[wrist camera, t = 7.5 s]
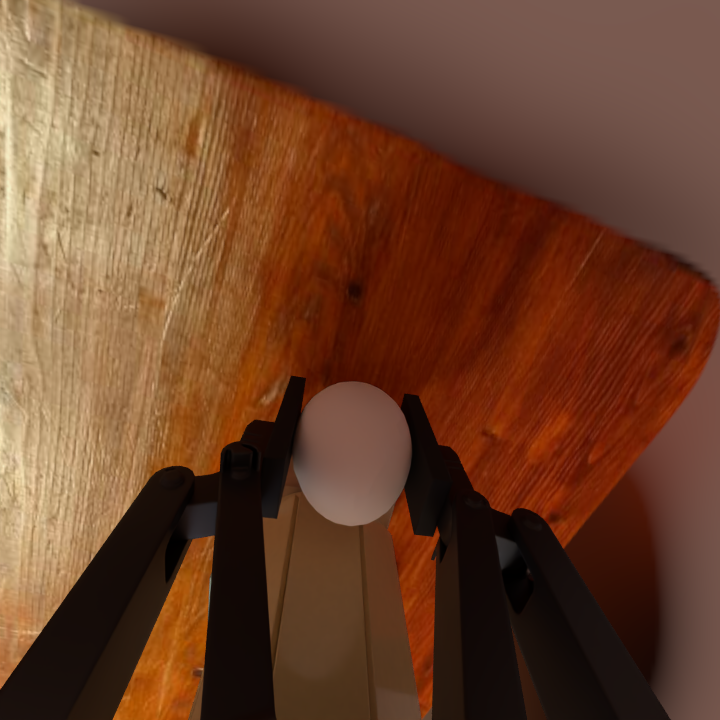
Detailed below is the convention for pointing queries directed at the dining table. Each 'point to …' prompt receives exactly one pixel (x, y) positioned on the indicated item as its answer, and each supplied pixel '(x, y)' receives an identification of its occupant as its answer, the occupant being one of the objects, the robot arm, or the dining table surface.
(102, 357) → the dining table surface
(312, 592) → the cup
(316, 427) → the egg
